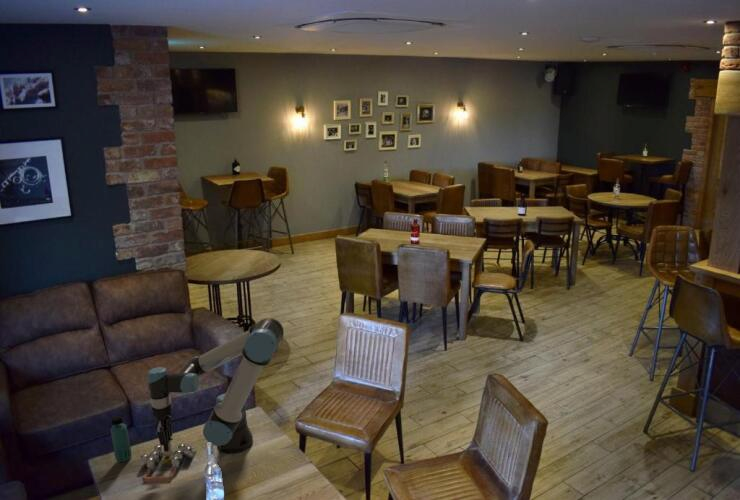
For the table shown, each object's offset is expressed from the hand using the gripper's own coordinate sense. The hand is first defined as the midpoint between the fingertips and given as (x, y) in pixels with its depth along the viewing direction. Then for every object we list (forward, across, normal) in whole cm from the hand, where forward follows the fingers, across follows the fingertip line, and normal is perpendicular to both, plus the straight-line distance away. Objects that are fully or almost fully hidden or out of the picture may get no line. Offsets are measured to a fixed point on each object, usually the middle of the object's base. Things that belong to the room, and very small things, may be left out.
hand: (168, 456), depth 241 cm
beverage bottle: (+3, -2, -20) cm, 20 cm away
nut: (+2, +3, +1) cm, 3 cm away
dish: (+3, +11, 0) cm, 12 cm away
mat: (+3, +1, 0) cm, 3 cm away
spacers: (+1, +2, 0) cm, 3 cm away
